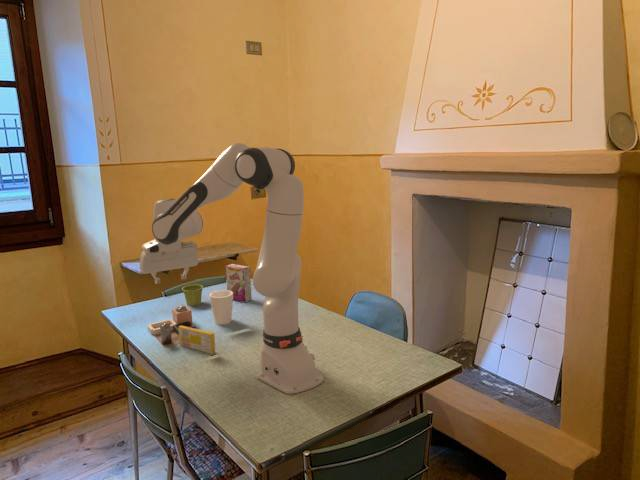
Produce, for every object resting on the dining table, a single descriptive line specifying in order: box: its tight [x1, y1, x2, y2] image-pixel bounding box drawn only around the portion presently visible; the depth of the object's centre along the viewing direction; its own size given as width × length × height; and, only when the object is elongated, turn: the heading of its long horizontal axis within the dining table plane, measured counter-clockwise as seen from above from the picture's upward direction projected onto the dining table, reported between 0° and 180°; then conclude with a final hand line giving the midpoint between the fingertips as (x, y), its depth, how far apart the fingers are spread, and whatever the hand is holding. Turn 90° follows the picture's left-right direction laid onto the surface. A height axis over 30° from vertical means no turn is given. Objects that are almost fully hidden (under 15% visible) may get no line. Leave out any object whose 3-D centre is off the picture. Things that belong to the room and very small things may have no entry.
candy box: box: [178, 325, 216, 357], centre depth 169 cm, size 16×2×8 cm, turn 60°
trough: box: [146, 318, 177, 336], centre depth 187 cm, size 8×10×2 cm
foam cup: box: [208, 289, 234, 326], centre depth 192 cm, size 10×9×13 cm
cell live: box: [160, 323, 172, 346], centre depth 174 cm, size 4×4×8 cm
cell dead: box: [176, 305, 186, 313], centre depth 191 cm, size 4×4×8 cm
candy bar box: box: [225, 263, 253, 304], centre depth 220 cm, size 11×5×16 cm, turn 58°
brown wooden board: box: [152, 321, 199, 349], centre depth 184 cm, size 22×16×3 cm
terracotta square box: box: [171, 305, 194, 325], centre depth 191 cm, size 6×6×6 cm
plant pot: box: [181, 284, 204, 307], centre depth 215 cm, size 9×9×9 cm
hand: (171, 281), depth 171 cm, fingers open, 8 cm apart
